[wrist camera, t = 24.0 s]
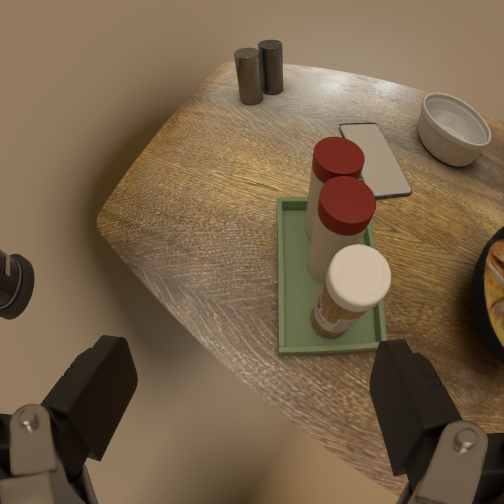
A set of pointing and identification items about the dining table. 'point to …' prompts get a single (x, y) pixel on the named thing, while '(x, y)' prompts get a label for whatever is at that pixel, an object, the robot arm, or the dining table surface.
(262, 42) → the grey tin
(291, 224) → the tray
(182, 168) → the dining table surface
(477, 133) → the ramekin
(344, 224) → the spice bottle
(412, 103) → the dining table surface
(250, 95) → the grey tin
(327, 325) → the sprinkles bottle
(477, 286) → the bowl
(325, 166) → the spice bottle
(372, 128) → the smartphone
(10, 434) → the robot arm
